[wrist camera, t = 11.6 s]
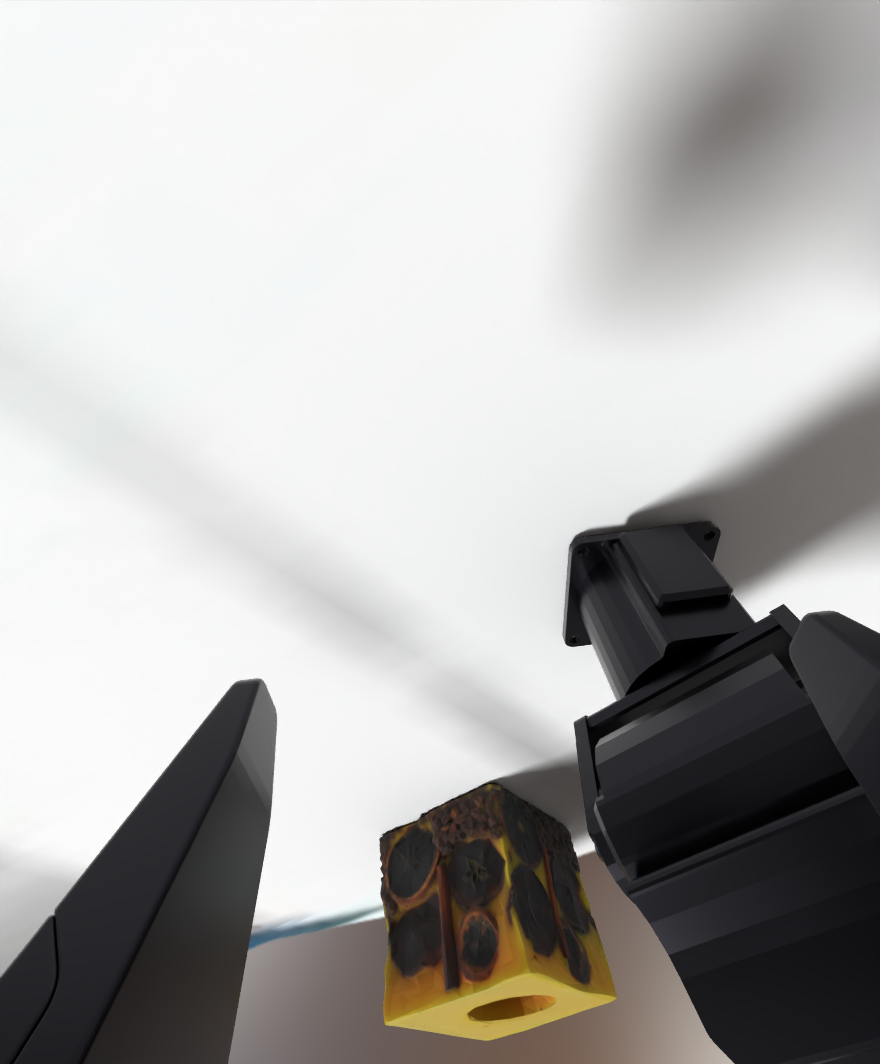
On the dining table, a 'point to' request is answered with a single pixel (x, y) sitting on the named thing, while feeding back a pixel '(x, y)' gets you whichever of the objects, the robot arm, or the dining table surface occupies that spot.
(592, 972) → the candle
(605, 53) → the dining table surface
